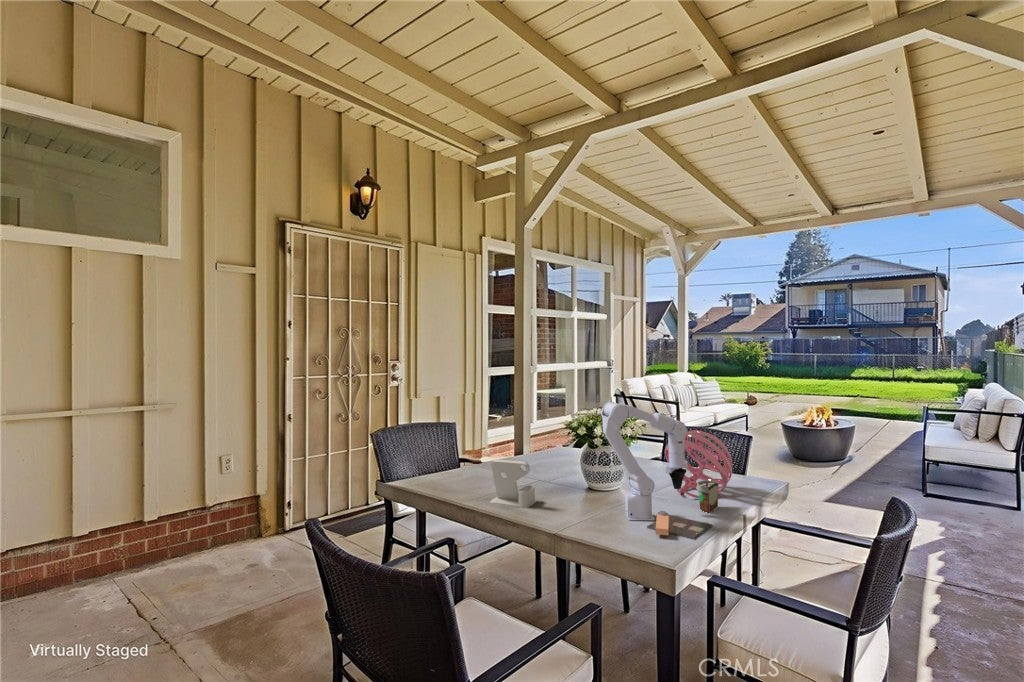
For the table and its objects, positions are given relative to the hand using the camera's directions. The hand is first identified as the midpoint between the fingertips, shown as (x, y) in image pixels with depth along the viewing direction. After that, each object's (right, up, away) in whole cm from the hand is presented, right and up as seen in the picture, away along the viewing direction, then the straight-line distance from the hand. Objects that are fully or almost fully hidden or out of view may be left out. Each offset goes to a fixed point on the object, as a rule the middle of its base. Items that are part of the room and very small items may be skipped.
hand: (677, 488), depth 192 cm
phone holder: (-61, -11, +18) cm, 65 cm away
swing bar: (-10, -8, -16) cm, 21 cm away
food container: (+13, -10, +5) cm, 17 cm away
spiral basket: (+18, -10, +25) cm, 32 cm away
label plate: (-4, -9, -14) cm, 17 cm away
